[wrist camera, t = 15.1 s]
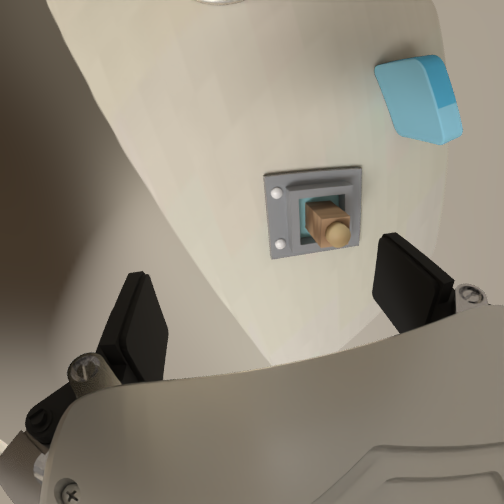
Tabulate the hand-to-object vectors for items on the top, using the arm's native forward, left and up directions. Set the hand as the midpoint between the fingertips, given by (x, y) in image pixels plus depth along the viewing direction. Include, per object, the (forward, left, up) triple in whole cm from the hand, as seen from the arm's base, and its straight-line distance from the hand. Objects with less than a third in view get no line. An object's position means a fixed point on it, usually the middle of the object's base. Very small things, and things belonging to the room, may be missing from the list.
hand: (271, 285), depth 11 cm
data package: (-9, +27, -31) cm, 42 cm away
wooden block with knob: (+9, +12, -29) cm, 33 cm away
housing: (+9, +12, -30) cm, 34 cm away
